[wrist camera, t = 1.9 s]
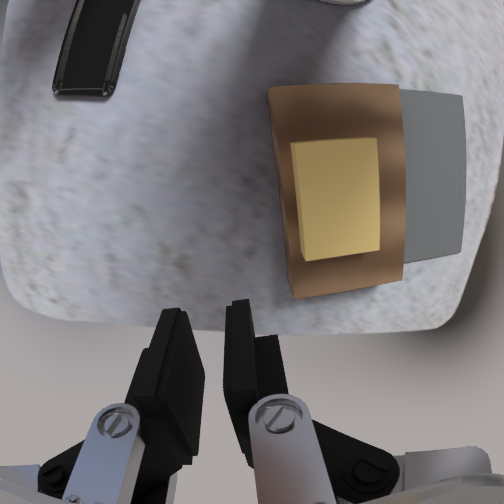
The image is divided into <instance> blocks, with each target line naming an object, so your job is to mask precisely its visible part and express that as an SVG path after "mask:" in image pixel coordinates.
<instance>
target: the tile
mask: <svg viewBox="0 0 504 504" xmlns="http://www.w3.org/2000/svg"><path fill="white" fill-rule="evenodd" d="M290 146H291V154H292V163H293V172H294V181H295V191H296V201H297V211H298V222H299V234H300V246H301V253H302V255H303V257H304V259H305V261H311V260H318V259H325V258H331V257H338V256H344V255H351V254H357V253H364V252H370V251H377V250H380V193H379V167H378V151H377V138H369V137H360V138H341V139H326V140H313V141H302V142H291V143H290Z"/></svg>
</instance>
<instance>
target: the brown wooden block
mask: <svg viewBox="0 0 504 504" xmlns="http://www.w3.org/2000/svg"><path fill="white" fill-rule="evenodd" d="M267 100H268V108H269V115H270V122H271V130H272V137H273V145H274V153H275V161H276V169H277V178H278V186H279V195H280V203H281V212H282V222H283V231H284V241H285V251H286V261H287V271H288V281H289V284H290V287H291V291H292V294H293V297H294V299H300V298H307V297H313V296H319V295H325V294H331V293H337V292H343V291H348V290H354V289H359V288H365V287H370V286H375V285H381V284H386V283H391V282H396V281H401V280H402V276H403V264H404V249H405V228H406V167H405V145H404V131H403V119H402V109H401V100H400V92H399V85H393V84H368V83H329V84H304V85H288V86H276V87H270V89H269V90H268V91H267ZM360 137H369V138H377V151H378V167H379V193H380V250H377V251H370V252H364V253H357V254H351V255H344V256H338V257H331V258H325V259H318V260H311V261H305V259H304V257H303V255H302V253H301V246H300V234H299V222H298V211H297V201H296V191H295V181H294V172H293V163H292V154H291V146H290V143H291V142H302V141H313V140H326V139H341V138H360Z"/></svg>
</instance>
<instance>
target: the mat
mask: <svg viewBox="0 0 504 504" xmlns="http://www.w3.org/2000/svg"><path fill="white" fill-rule="evenodd" d="M399 92H400V100H401V109H402V119H403V131H404V145H405V167H406V228H405V249H404V263H408V262H413V261H419V260H424V259H429V258H434V257H439V256H445V255H450V254H455V253H459V252H461V246H462V237H463V227H464V215H465V198H466V135H465V119H464V107H463V98H462V96H460V95H453V94H445V93H437V92H427V91H416V90H402V89H399Z"/></svg>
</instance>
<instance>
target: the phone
mask: <svg viewBox="0 0 504 504" xmlns="http://www.w3.org/2000/svg"><path fill="white" fill-rule="evenodd" d="M140 1H141V0H77V1H76V4H75V7H74V10H73V12H72V15H71V18H70V21H69V24H68V27H67V30H66V34H65V37H64V40H63V44H62V47H61V51H60V55H59V58H58V62H57V66H56V71H55V75H54V80H53V84H52V90H53V92H54V93H55V94H56V95H64V96H98V97H106V96H109V95H111V94H112V93H113V92H114V90H115V88H116V84H117V80H118V76H119V72H120V68H121V65H122V61H123V57H124V54H125V49H126V45H127V41H128V38H129V35H130V31H131V28H132V25H133V22H134V19H135V16H136V13H137V10H138V7H139V4H140Z"/></svg>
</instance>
